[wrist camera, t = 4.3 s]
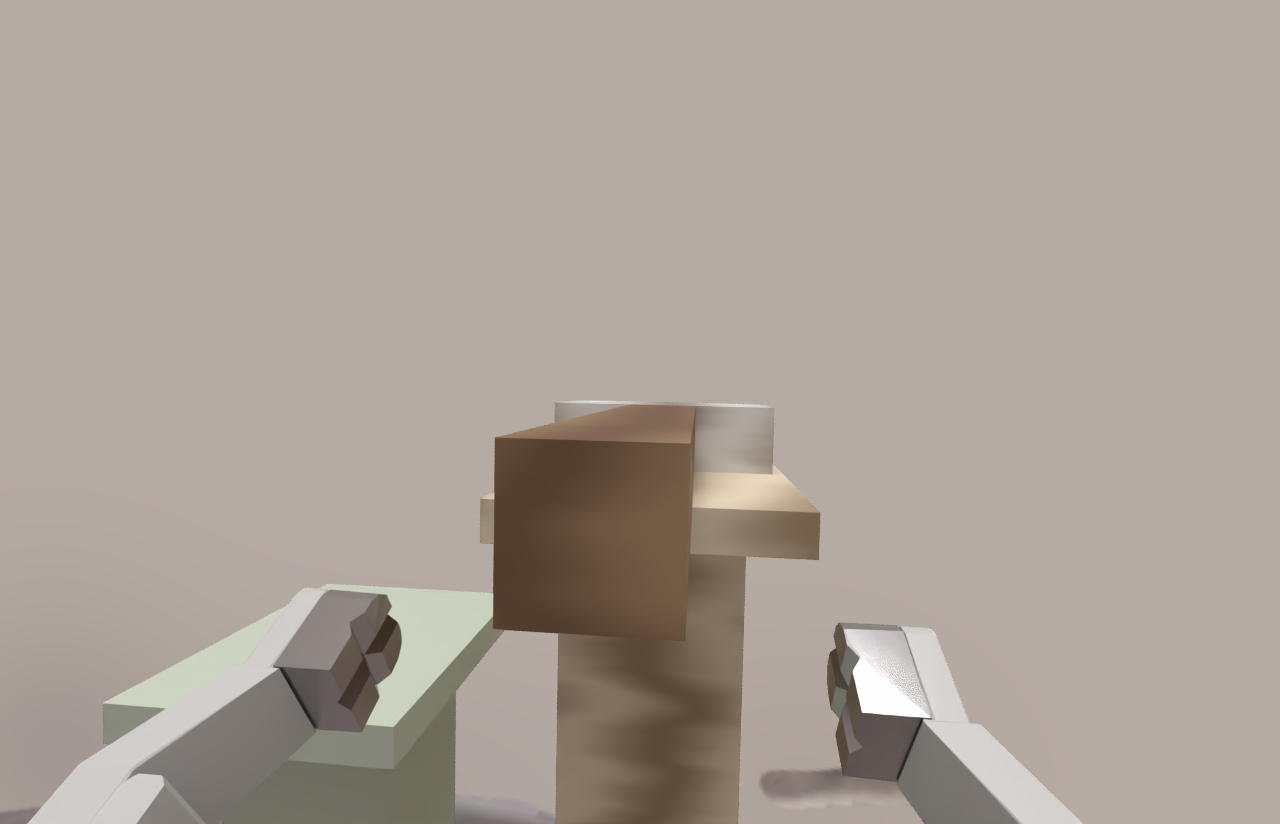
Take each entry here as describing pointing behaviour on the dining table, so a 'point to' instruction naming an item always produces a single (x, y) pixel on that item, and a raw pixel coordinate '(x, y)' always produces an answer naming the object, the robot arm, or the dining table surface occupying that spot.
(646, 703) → the pedestal tall
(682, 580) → the mallet
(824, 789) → the dining table surface
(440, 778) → the pedestal low
